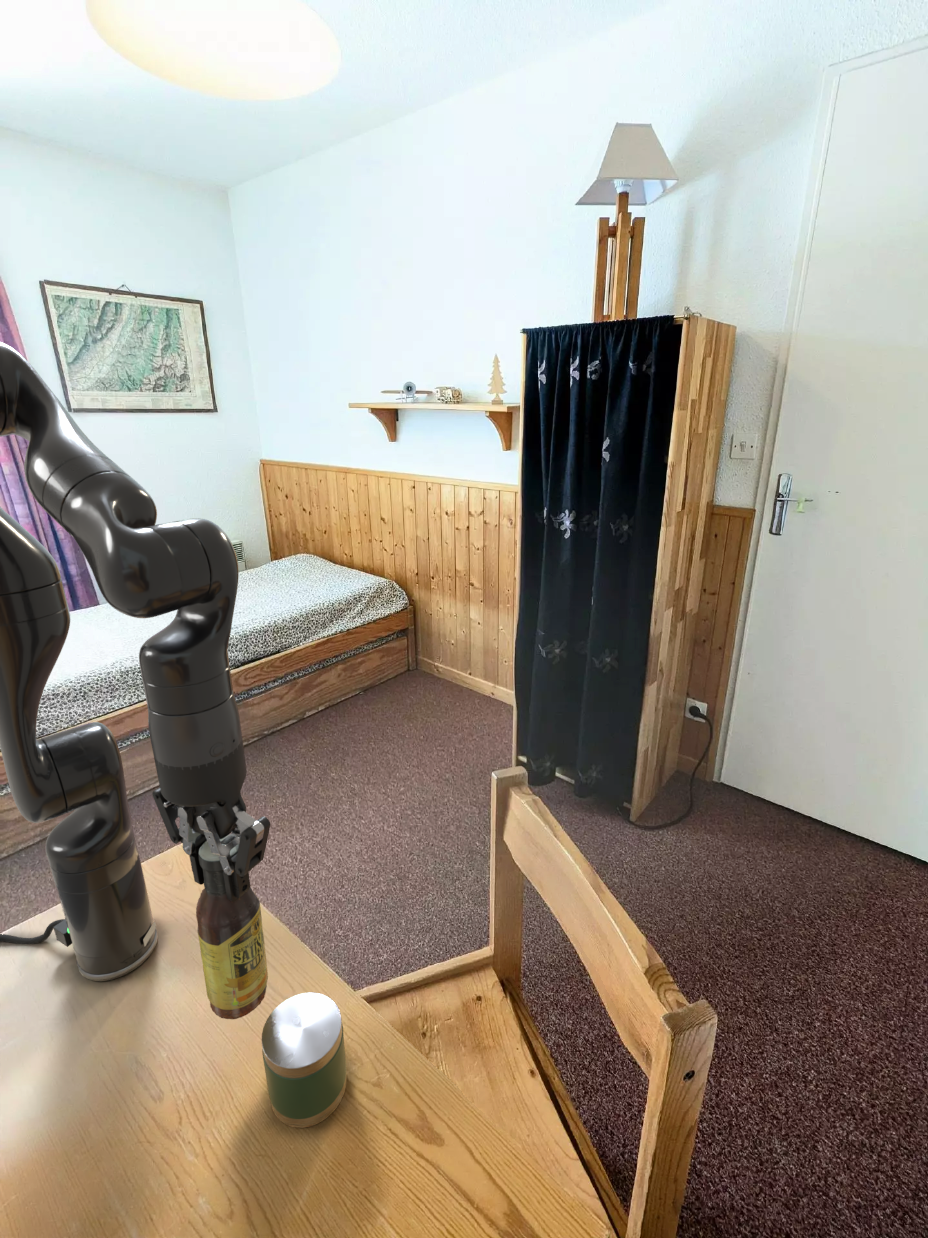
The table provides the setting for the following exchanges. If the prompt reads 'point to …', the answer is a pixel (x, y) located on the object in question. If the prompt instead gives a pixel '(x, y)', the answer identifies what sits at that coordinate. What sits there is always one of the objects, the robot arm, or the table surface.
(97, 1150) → the table surface
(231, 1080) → the table surface
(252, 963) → the sauce bottle
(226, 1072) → the table surface
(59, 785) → the robot arm
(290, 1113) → the tin can
